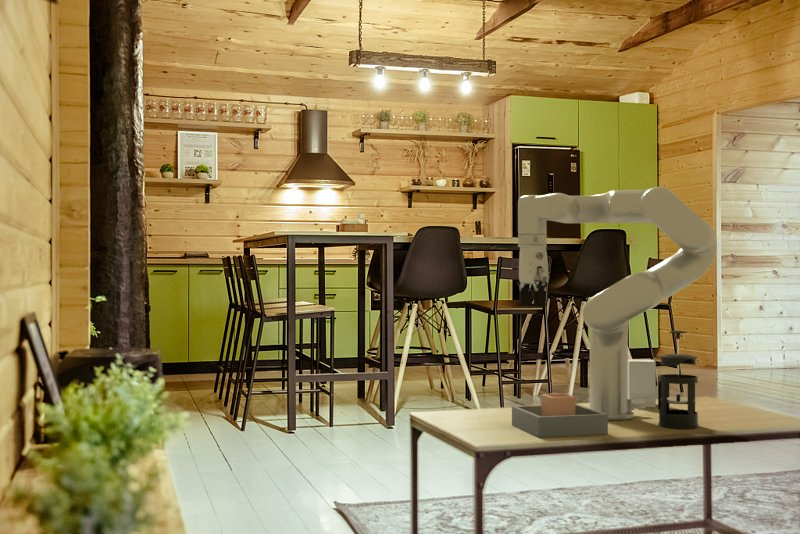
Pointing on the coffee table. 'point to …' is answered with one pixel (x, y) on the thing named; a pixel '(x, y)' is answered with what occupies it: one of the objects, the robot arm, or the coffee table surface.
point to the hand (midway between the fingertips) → (532, 305)
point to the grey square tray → (559, 422)
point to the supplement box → (642, 381)
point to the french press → (677, 416)
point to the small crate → (558, 404)
